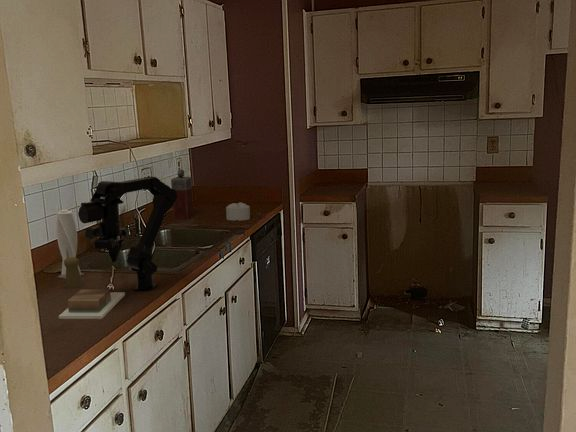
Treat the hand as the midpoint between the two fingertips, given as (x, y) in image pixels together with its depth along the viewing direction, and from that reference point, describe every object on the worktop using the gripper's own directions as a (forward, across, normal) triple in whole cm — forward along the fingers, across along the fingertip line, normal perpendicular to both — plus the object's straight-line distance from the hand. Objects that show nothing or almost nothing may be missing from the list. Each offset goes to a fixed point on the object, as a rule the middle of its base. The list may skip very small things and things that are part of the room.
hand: (114, 261), depth 199 cm
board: (+13, +9, -5) cm, 17 cm away
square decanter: (+13, -132, -9) cm, 133 cm away
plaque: (+10, +6, -5) cm, 13 cm away
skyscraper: (+13, -25, -28) cm, 40 cm away
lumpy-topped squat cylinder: (+13, -128, +25) cm, 131 cm away
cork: (+13, -12, -21) cm, 27 cm away
